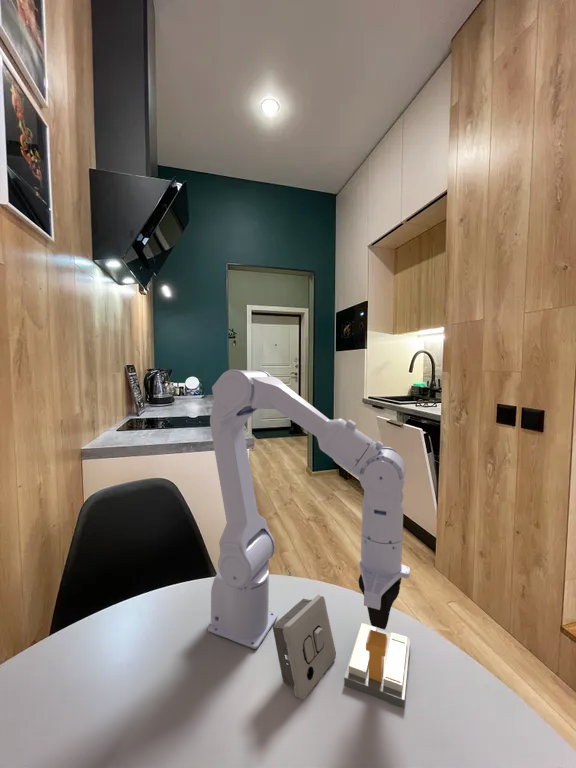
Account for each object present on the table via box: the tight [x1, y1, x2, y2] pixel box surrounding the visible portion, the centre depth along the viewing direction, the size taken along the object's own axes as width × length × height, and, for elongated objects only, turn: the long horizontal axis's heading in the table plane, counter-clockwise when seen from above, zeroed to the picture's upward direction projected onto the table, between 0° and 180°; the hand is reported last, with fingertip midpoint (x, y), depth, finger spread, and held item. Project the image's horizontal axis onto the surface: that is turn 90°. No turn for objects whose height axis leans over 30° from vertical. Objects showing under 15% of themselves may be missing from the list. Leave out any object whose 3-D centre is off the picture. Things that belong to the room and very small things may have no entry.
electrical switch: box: [272, 594, 337, 700], centre depth 50 cm, size 9×5×9 cm, turn 141°
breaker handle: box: [366, 630, 388, 682], centre depth 48 cm, size 3×3×5 cm
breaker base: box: [343, 622, 411, 709], centre depth 51 cm, size 8×11×2 cm
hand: (378, 624), depth 50 cm, fingers closed
